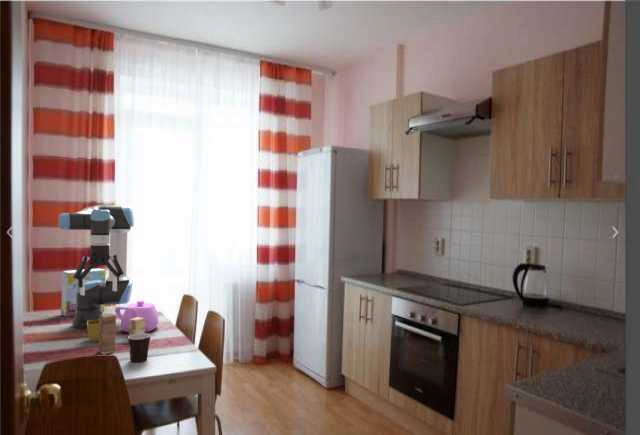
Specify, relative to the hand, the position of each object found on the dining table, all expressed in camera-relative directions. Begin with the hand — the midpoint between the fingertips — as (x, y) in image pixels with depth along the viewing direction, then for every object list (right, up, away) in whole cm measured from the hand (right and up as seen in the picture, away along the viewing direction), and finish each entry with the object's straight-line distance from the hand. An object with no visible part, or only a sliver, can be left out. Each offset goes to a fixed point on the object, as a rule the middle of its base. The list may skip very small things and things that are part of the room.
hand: (98, 292), depth 186 cm
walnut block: (+3, -26, +1) cm, 26 cm away
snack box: (-43, -24, +65) cm, 82 cm away
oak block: (+9, -26, +19) cm, 33 cm away
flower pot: (-9, -26, +15) cm, 31 cm away
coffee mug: (+21, -27, -11) cm, 36 cm away
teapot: (+4, -26, +34) cm, 43 cm away
